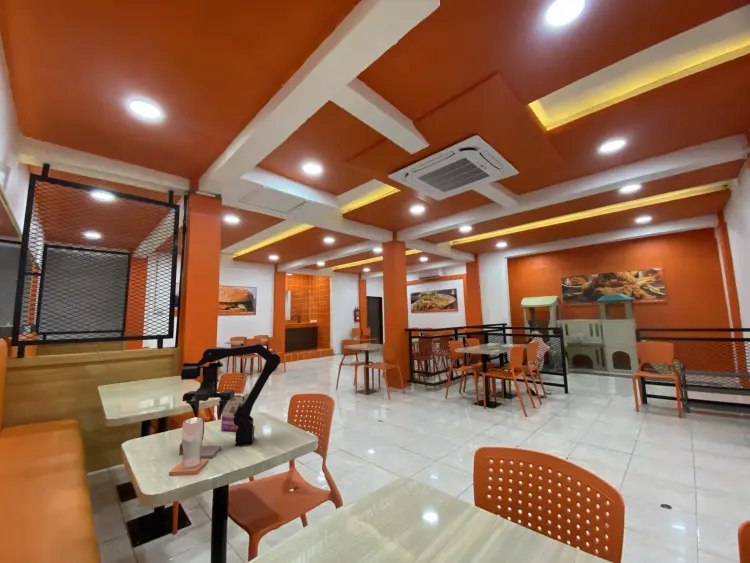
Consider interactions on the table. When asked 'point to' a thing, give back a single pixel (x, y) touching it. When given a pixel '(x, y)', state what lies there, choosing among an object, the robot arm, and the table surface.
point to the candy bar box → (231, 412)
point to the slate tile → (209, 451)
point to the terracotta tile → (188, 469)
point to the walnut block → (181, 449)
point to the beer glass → (192, 441)
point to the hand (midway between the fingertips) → (208, 417)
